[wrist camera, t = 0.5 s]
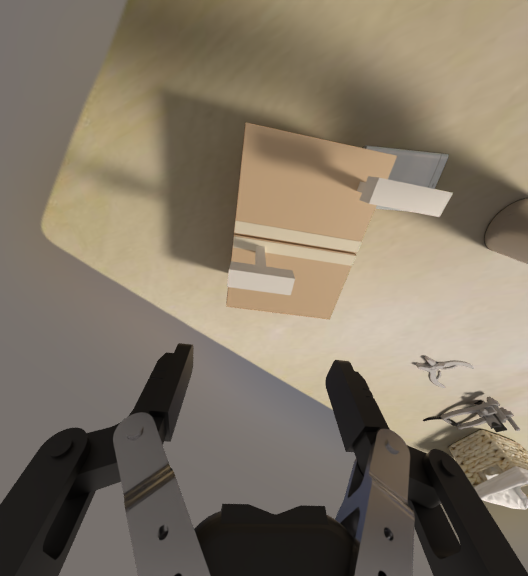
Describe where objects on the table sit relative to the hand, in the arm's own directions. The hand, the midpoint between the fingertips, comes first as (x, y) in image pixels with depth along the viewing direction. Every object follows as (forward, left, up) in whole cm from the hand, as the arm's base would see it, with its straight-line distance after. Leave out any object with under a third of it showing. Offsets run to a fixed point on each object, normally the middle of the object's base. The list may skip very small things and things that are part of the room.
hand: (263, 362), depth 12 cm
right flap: (-4, +4, -18) cm, 19 cm away
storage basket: (-92, +63, -28) cm, 116 cm away
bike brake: (-72, +46, -29) cm, 90 cm away
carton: (-4, -2, -28) cm, 29 cm away
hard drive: (-19, -11, -29) cm, 36 cm away
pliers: (-52, +28, -29) cm, 66 cm away
